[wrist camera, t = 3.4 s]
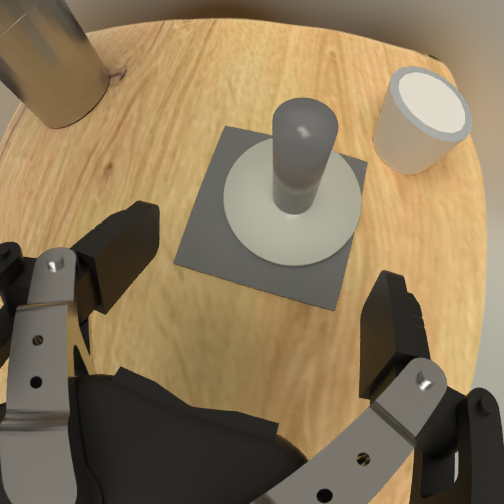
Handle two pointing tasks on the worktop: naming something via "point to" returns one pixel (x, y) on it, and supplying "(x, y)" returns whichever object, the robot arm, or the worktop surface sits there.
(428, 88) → the light grey cylinder
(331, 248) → the peg on round base
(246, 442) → the robot arm
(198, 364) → the worktop surface
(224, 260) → the mat
